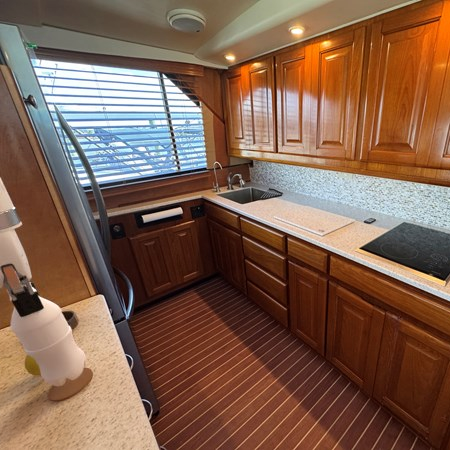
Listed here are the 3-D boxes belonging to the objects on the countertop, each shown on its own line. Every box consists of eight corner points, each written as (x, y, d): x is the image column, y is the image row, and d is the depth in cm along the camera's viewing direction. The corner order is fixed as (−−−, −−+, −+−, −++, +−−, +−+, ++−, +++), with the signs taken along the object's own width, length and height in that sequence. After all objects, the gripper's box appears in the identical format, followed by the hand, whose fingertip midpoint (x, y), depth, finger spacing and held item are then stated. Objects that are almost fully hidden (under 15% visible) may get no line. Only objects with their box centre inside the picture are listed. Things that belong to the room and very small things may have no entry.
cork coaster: (38, 403, 52) (37, 402, 52) (66, 370, 59) (66, 369, 59) (76, 399, 53) (76, 397, 52) (100, 367, 60) (99, 365, 60)
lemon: (62, 358, 62) (50, 335, 59) (66, 370, 59) (53, 346, 56) (32, 373, 58) (17, 349, 56) (34, 388, 55) (19, 363, 52)
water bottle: (82, 382, 53) (30, 291, 44) (41, 395, 51) (-23, 302, 41) (94, 356, 59) (51, 271, 50) (58, 366, 57) (6, 280, 48)
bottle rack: (29, 341, 68) (25, 333, 67) (55, 319, 76) (52, 311, 75) (63, 338, 69) (59, 330, 67) (85, 316, 77) (82, 309, 76)
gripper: (-46, 218, 43) (1, 300, 50) (-55, 242, 34) (5, 340, 40) (15, 209, 49) (50, 283, 55) (23, 226, 39) (64, 315, 46)
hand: (30, 306), depth 48 cm, fingers closed on water bottle, 4 cm apart
